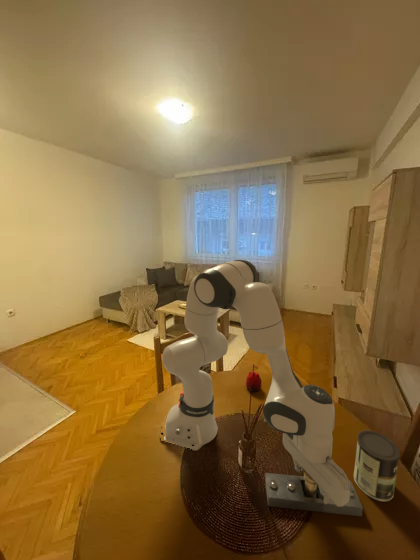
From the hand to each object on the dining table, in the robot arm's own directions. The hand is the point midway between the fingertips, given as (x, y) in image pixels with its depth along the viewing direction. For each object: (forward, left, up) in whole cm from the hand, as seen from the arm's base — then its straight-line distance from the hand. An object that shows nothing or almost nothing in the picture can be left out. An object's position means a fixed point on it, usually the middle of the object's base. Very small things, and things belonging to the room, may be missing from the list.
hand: (310, 484), depth 68 cm
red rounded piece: (-13, +48, -5) cm, 50 cm away
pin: (0, 0, -5) cm, 5 cm away
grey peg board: (0, 0, -5) cm, 5 cm away
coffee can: (+20, +6, -5) cm, 21 cm away
